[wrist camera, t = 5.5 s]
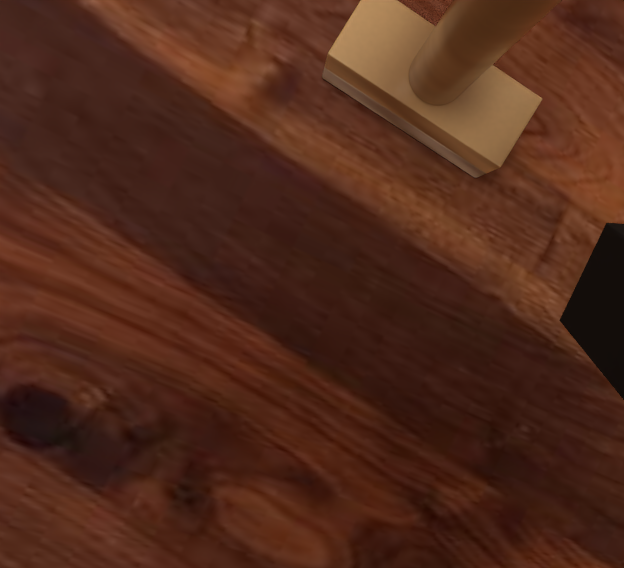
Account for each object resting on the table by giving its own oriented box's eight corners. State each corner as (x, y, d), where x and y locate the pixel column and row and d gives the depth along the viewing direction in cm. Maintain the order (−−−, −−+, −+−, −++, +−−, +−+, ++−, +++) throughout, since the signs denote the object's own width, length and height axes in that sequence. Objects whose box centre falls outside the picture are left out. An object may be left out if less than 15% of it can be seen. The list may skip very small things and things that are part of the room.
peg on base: (513, 117, 30) (733, -22, 16) (475, 178, 30) (661, 96, 16) (360, 14, 29) (444, -230, 15) (321, 77, 29) (368, -107, 15)
